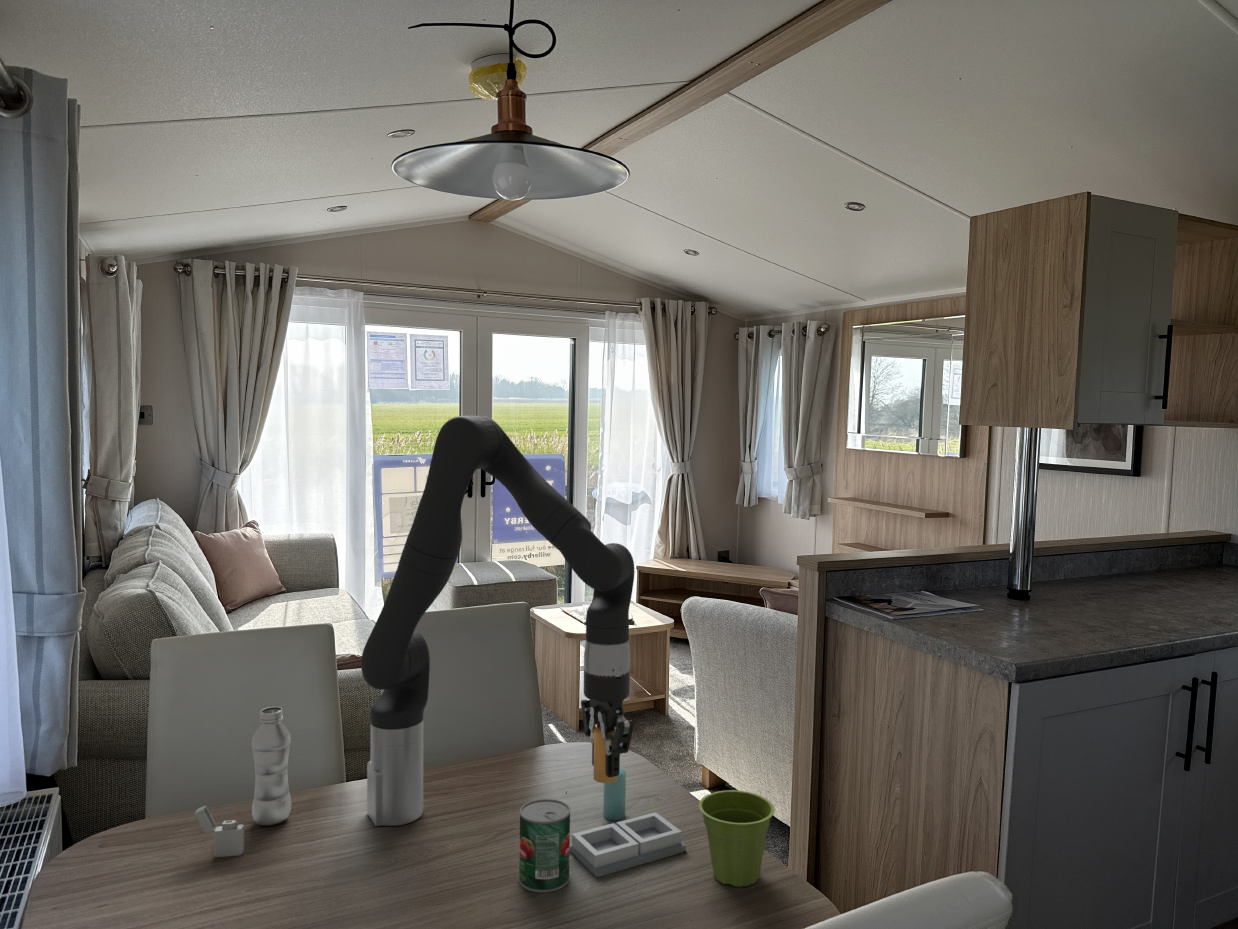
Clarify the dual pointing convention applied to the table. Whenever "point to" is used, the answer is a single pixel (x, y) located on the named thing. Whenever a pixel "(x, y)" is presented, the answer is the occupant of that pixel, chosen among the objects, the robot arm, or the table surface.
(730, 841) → the plant pot
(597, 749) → the orange pin
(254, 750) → the plastic bottle
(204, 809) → the lighter
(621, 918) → the table surface
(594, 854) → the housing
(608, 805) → the teal pin
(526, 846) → the canned tomato
